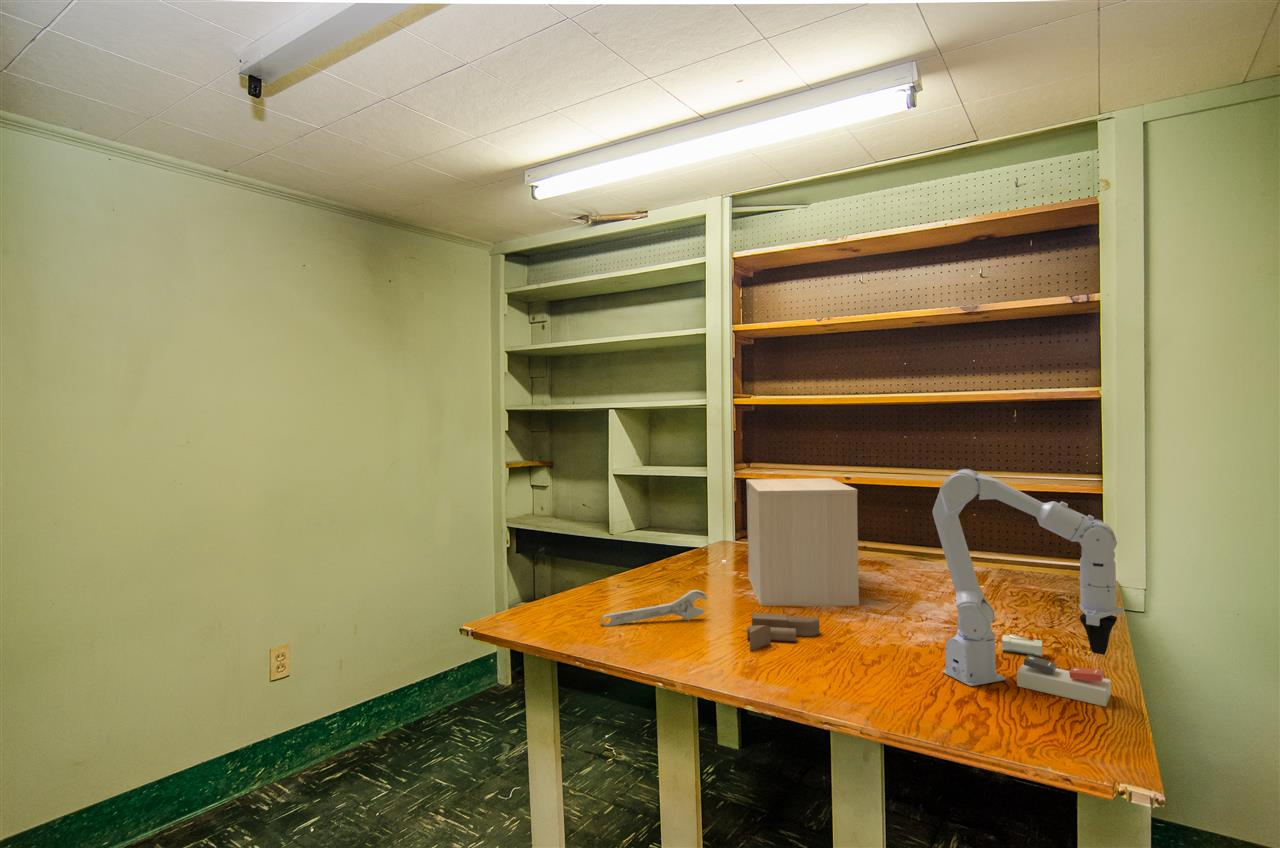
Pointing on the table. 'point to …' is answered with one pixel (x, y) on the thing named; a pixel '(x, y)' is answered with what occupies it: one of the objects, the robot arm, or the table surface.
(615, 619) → the wrench
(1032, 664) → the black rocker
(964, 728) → the table surface
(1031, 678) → the rocker switch panel
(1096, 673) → the red rocker
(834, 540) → the beige wooden block
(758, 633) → the wooden block set
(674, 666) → the table surface
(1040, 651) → the pipe fitting
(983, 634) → the robot arm
